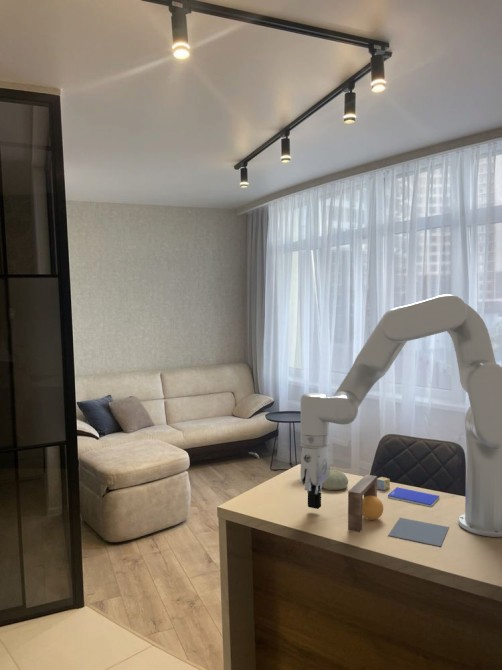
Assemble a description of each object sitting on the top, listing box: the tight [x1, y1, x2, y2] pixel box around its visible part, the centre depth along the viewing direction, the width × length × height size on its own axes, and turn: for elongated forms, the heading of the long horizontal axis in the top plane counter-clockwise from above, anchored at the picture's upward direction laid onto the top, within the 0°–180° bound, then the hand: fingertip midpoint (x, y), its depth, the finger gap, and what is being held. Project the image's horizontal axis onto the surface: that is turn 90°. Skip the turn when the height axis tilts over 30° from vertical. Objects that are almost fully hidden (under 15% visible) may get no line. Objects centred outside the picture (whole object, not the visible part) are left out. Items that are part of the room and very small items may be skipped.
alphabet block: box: [377, 476, 391, 491], centre depth 156 cm, size 3×3×3 cm
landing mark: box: [387, 517, 449, 548], centre depth 124 cm, size 12×12×1 cm
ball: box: [362, 496, 384, 521], centre depth 132 cm, size 6×6×6 cm
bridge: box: [347, 474, 378, 533], centre depth 131 cm, size 3×15×10 cm, turn 151°
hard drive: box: [387, 487, 440, 508], centre depth 147 cm, size 2×8×12 cm
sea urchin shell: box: [322, 469, 349, 491], centre depth 157 cm, size 9×8×8 cm
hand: (314, 506), depth 137 cm, fingers closed
